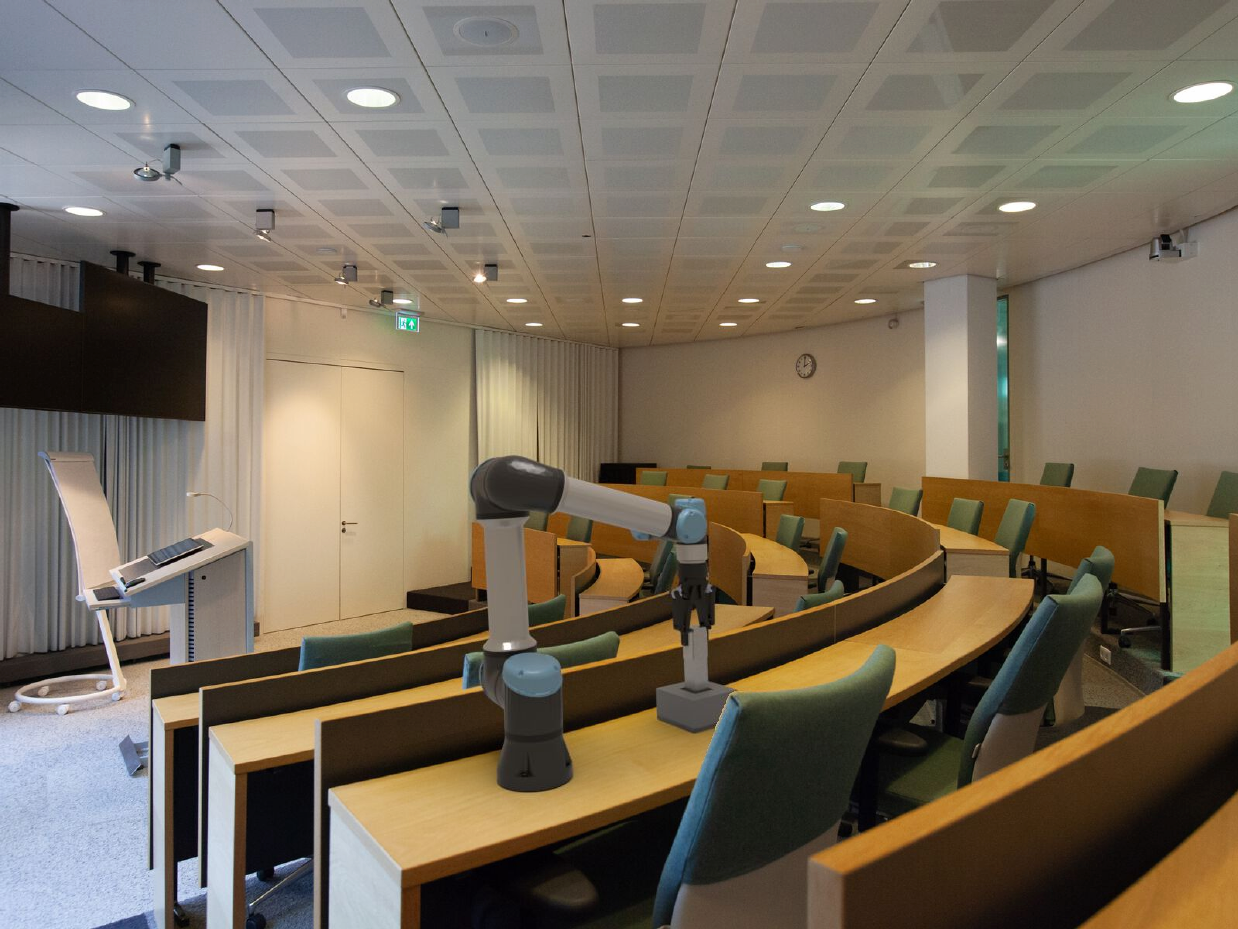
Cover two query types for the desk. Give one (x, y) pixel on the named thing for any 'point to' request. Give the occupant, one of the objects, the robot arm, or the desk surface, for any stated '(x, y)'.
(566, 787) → the desk surface
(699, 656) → the grey metal bar
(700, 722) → the slate well
